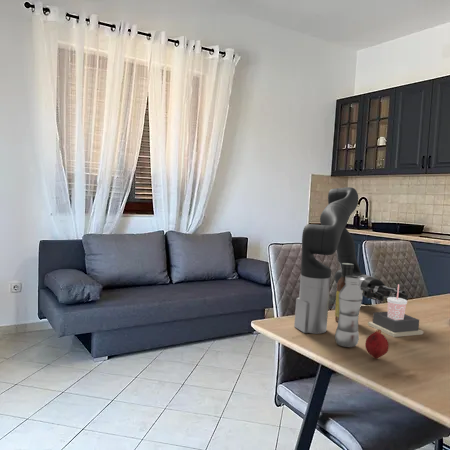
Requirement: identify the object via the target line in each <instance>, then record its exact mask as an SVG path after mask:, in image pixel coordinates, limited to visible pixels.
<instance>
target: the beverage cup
mask: <svg viewBox="0 0 450 450" xmlns="http://www.w3.org/2000/svg"><path fill="white" fill-rule="evenodd" d="M396 288H397V298H396V297H388V298H386V299H387V300H386V301H387V312H388V316H387V317H389V318H391V319H393V320H404V314H405V312H406V307H407V304H408V299H407V300H405V299H402V298H398V294H399V289H400V284H399V283H398V284H397V287H396Z"/></svg>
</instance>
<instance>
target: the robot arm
mask: <svg viewBox="0 0 450 450" xmlns="http://www.w3.org/2000/svg"><path fill="white" fill-rule="evenodd" d="M358 203H359V193H358V191H357V189H355V187H352V186H349V187H348V186H347V187H335V188H331V189H329V191H328V194H327V205H326V206H325V207H324V209H323V211H322V212H321V214H320V217H319V222H320V224H315V223H313V224H312V223H308V224H306V225H305V226H304V227H303V230H302V236H301V259H300V260H301V264H300V266H301V267H300V268H301V269H300V280H299V291H298V293H299V294H298V297H296V299H295V312H294V325H293V326H294V328H295V329H297V330H298V331H301V332H302V333H304V334H308V333H309V334H324V333H326V332H327V330H328V329H327V327H328V318H329V317H328V313H329V304H330V301H329V300H330V290H331V289H330V288H331V277H332V269H331V267H329V266H328V265H325V264H324V263H322V262H320V261H319V260H317V258H316V257H315V256H314V255H320V256H331V255H334V254H335V253H336V255H337V261H338V262H339V263H340V264H342V263H350V264H354V269H353V276H355V277H358V278H359V281H358V282H359V284H358V288H359V289H360V291H361V293H362V296H363V297H364V298H367V299H370V300H373V301H375V300H377V301H379V302H384V300H385V298H386V299H387V298H388V297H396V298H397V288H398V287H395V286H394V287H390V286H389V287H388V286H387V285H385V283H384V282H383V280H380V279H379V278H376V277H373V276H371V275H368V274H365V273H362V271H361V268H360V265H359V263H358V260H357V256H356V244H355V240H354V238H353V236H352V235H351V233H350V232H349V230H348V229H347V228H346V226H347V224H348V221H349V220H350V217H351V215H352V214H353V213H354V212H355V211H356V209H357V207H358V205H359V204H358ZM341 274H342V268H340V269H338V270H337V271H336V272H335V273H334V281H335V283H336V284H337V283H338V281H339V280H340V278H341V277H342V276H341ZM408 297H409V295H407V294H406V290H404V289H400V288H399V294H398V298H402V299H405V300H407V301H408Z"/></svg>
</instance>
